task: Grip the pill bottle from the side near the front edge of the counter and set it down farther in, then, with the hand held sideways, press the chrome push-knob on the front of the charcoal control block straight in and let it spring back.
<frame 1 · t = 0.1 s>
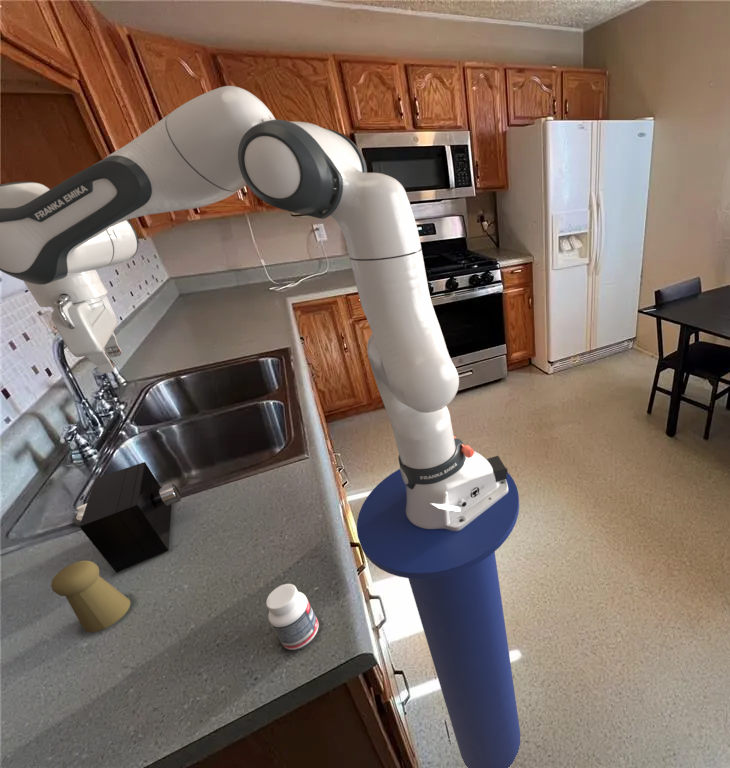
hand: (112, 363, 77), 34 cm above the worktop, tool pointing down, fingers open, 8 cm apart
cork: (108, 615, 69), on the worktop
control block: (146, 535, 84), on the worktop
pill bottle: (301, 633, 63), on the worktop
stove knob: (97, 514, 91), on the worktop
push knob: (161, 497, 83), point 7 cm above the worktop, slide at 0.1 cm
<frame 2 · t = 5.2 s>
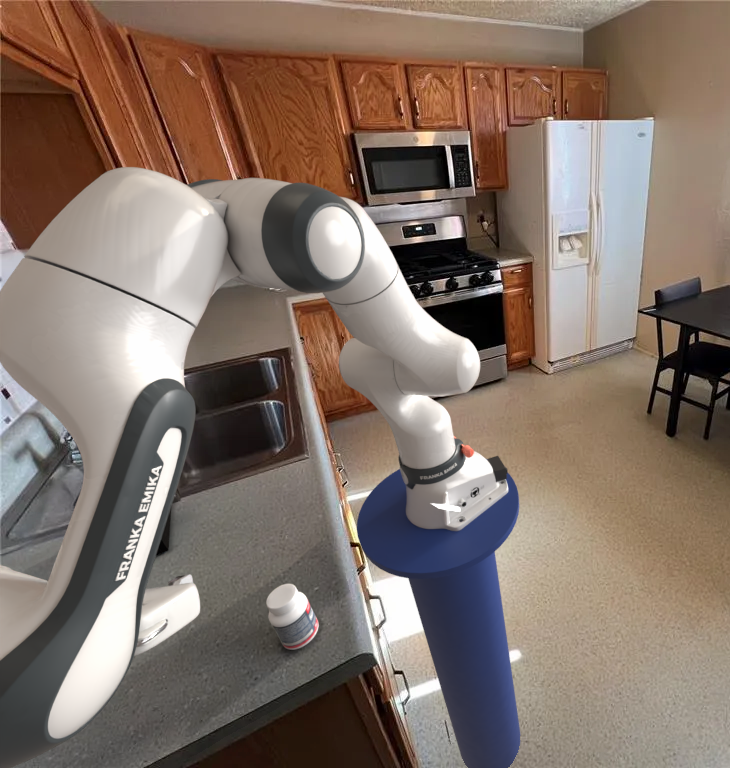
hand: (147, 586, 50), 19 cm above the worktop, tool tilted 65°, fingers open, 8 cm apart
nothing on the worktop moved.
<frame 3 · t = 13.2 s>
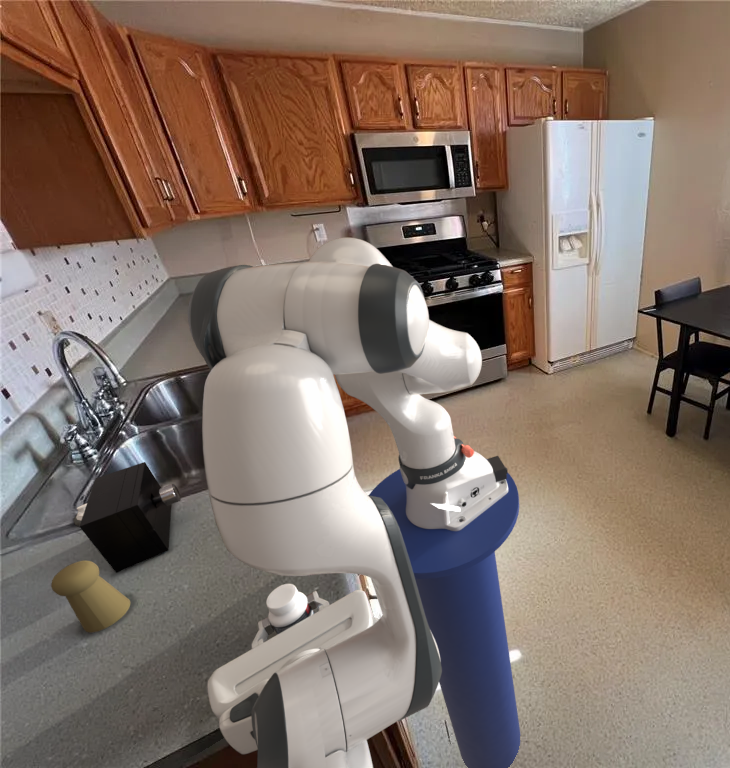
hand: (289, 608, 62), 5 cm above the worktop, tool horizontal, fingers closed on pill bottle, 5 cm apart
pill bottle: (301, 633, 63), on the worktop, touching gripper
everything else where it was.
when the fingers open (5 cm above the worktop, at t = 20.9 s): pill bottle stays where it is, on the worktop.
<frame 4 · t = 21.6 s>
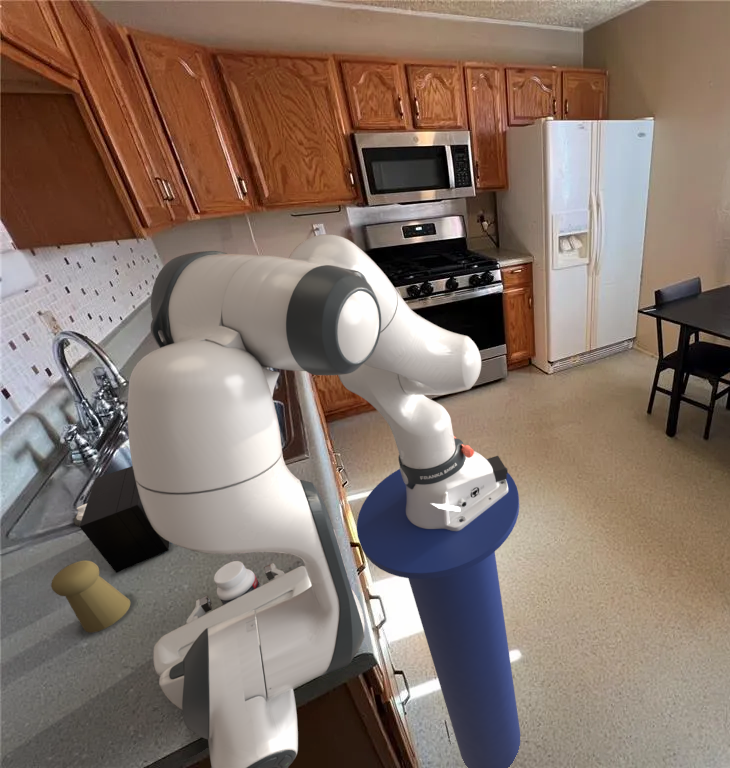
hand: (238, 583, 66), 5 cm above the worktop, tool horizontal, fingers open, 8 cm apart
pill bottle: (250, 608, 68), on the worktop
everything else where it was.
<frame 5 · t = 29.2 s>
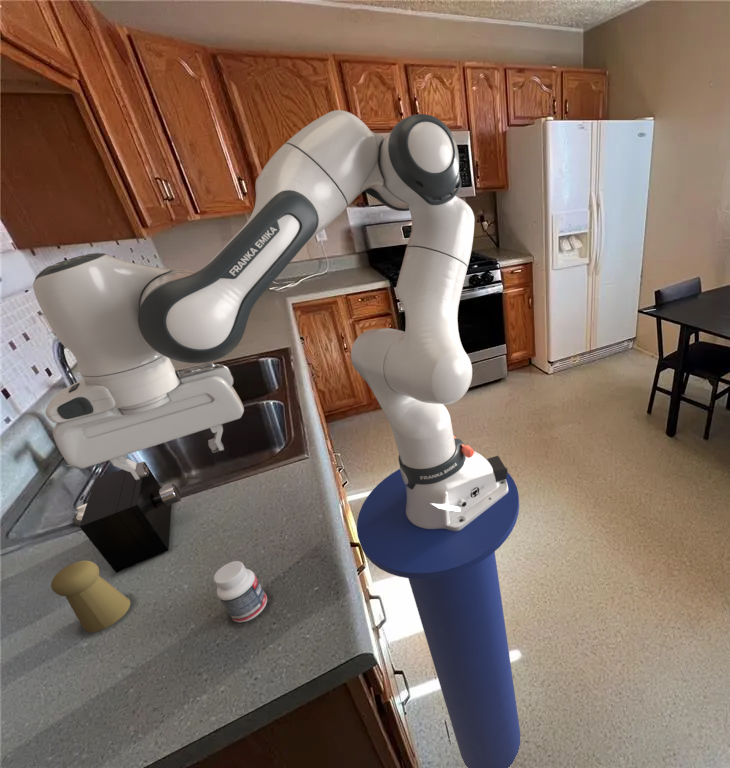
hand: (182, 462, 62), 25 cm above the worktop, tool pointing down, fingers open, 8 cm apart
nothing on the worktop moved.
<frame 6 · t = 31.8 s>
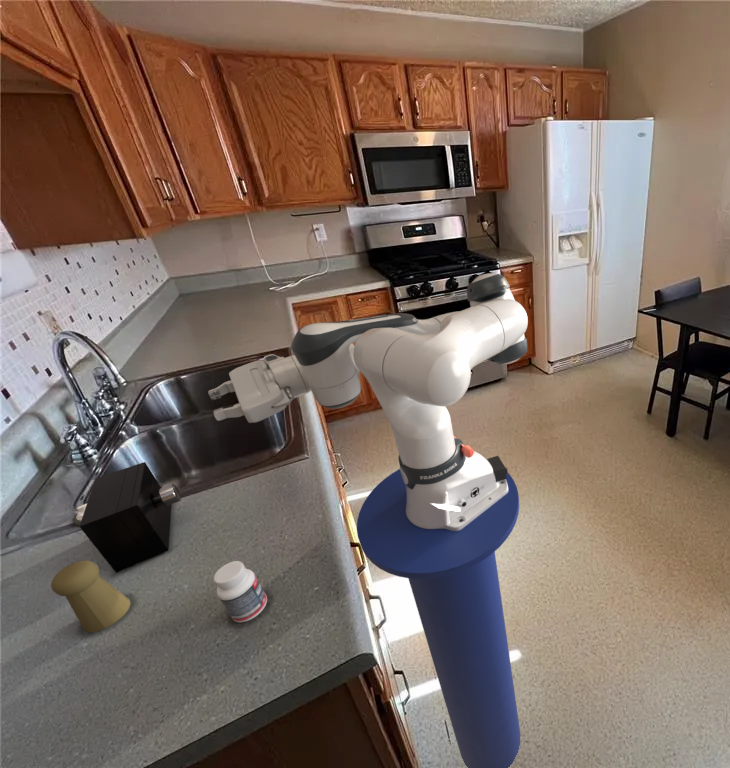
hand: (212, 405, 83), 23 cm above the worktop, tool horizontal, fingers open, 8 cm apart
nothing on the worktop moved.
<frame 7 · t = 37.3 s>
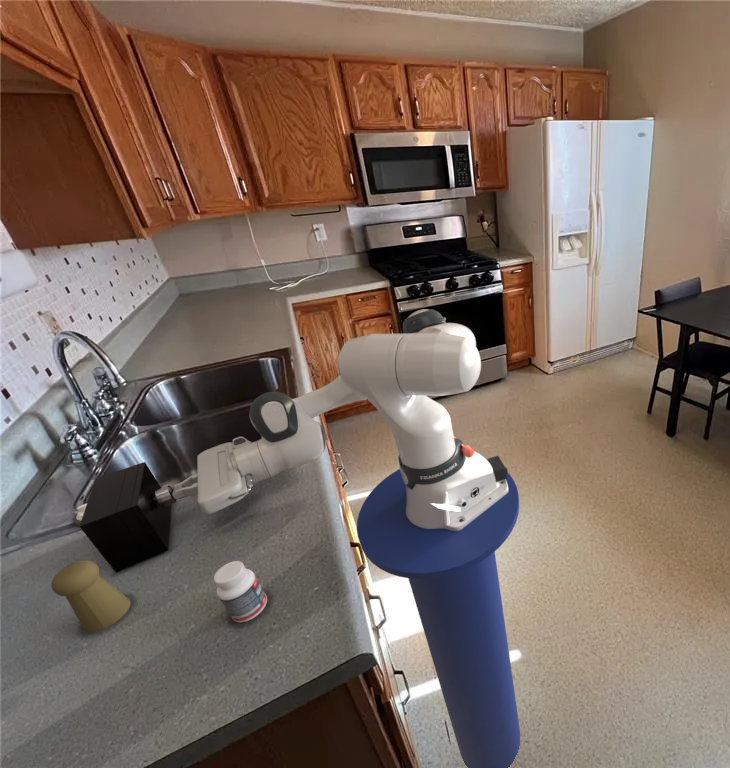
hand: (173, 493, 84), 7 cm above the worktop, tool horizontal, fingers closed, pressing on push knob
push knob: (157, 499, 83), point 7 cm above the worktop, slide at -0.7 cm, touching gripper
everything else where it was.
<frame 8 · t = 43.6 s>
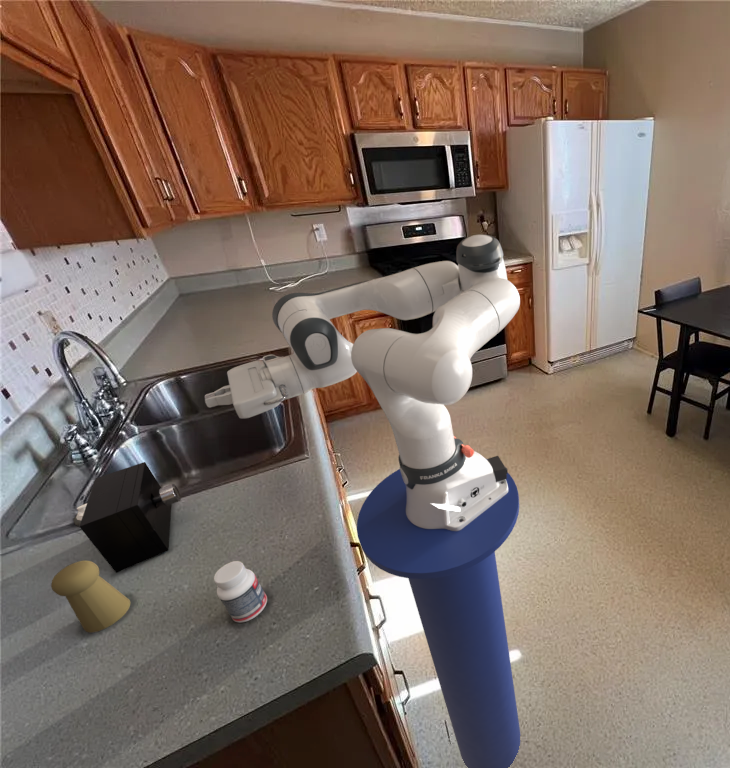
hand: (205, 401, 82), 24 cm above the worktop, tool horizontal, fingers closed
push knob: (161, 497, 83), point 7 cm above the worktop, slide at 0.1 cm
everything else where it was.
at the end: pill bottle 0.1 cm from the target spot, on the worktop; push knob pushed in 1.1 cm at the most during the clip, back to where it started at the end; push knob slide at 0.1 cm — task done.
